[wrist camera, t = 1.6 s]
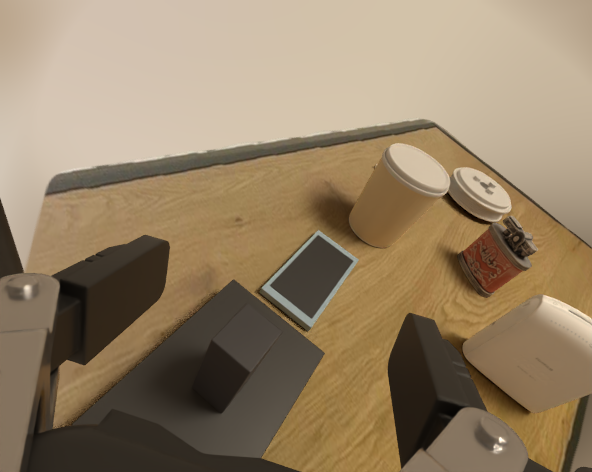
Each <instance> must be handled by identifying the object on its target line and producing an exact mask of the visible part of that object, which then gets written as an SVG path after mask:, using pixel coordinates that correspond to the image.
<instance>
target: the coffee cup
mask: <svg viewBox="0 0 592 472" xmlns="http://www.w3.org/2000/svg"><path fill="white" fill-rule="evenodd" d="M449 185H450V178H449V175H448V173H447V172H446V170H445V169H444V168H443V167H442V166H441V165H440V164H439V163H438V162H437V161H436V160H435V159H434V158H432V157H431V156H430V155H428V154H427V153H425V152H423V151H422V150H420V149H418V148H415V147H413V146H410V145H407V144H402V143H396V144H393V145H391V146H390V147H388V148H386V149H385V150H384V152H383V154H382V158H381V159H380V161H379V163H378V164H377V166H376V168H375V169H374V171H373V173H372V175H371V177H370V178H369V180H368V182H367V184H366V185H365V187H364V189H363V191H362V193H361V195H360V196H359V198H358V200H357V202H356V204H355V205H354V207H353V209H352V211H351V213H350V215H349V224H350V226H351V228H352V230H353V232H354V233H355V234H356V235H357V236H358V237H359V238H360V239H361V240H363V241H364V242H366V243H367V244H369V245H371V246H374V247H378V248H386V247H389V246H391V245H392V244H393V243H394V242H396V241H397V240H398V239H399V238H400V237H401V236H402V235H403V234H404V233H405V232H406V231H407V230H408V229H409V228H410V227H411V226H412V225H413V224H414V223H415V222H416V221H417V220H418V219H419V218H420V217H421V216H422V215H423V214H424V213H425V212H426V211H427V210H428V209H429V208H430V207H431V206H432V205H433V204H434V203H435V202H436V201H437V200H438V199H439V198H440V197H442V196H443V195H445V194H446V193H447V191H448V189H449Z"/></svg>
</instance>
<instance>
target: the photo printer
mask: <svg viewBox="0 0 592 472" xmlns="http://www.w3.org/2000/svg"><path fill="white" fill-rule="evenodd" d="M462 350H463V354H464V356H465V358H466V359H467V360H468V361H469V362H470V363H471V364H472V365H473V366H474V367H476V368H477V369H478V370H479V371H480V372H481V373H483V374H484V375H485V376H486V377H487V378H488V379H490V380H491V381H492V382H493V383H494V384H496V385H497V386H498V387H499V388H501V389H502V390H503V391H504V392H505V393H507V394H508V395H509V396H511V397H512V398H513V399H514V400H516V401H517V402H518V403H519V404H521V405H522V406H523V407H525V408H526V409H527V410H529V411H530V412H532V413H539V412H542V411H545V410H548V409H551V408H554V407H556V406H559V405H562V404H564V403H567V402H570V401H573V400H575V399H578V398H581V397H583V396H586V395H589V394H591V393H592V319H591V318H589V317H588V316H587V315H585V314H583V313H582V312H580V311H578V310H577V309H575V308H573V307H571V306H569V305H567V304H565V303H563V302H561V301H559V300H556V299H554V298H551V297H549V296H546V295H542V294H538V295H535V296H533V297H531V298H529V299H528V300H526V301H525V302H523V303H522V304H520V305H519V306H517V307H516V308H514V309H513V310H511V311H510V312H508V313H507V314H505V315H504V316H502V317H501V318H499V319H498V320H496V321H495V322H493V323H492V324H490V325H489V326H487V327H486V328H484V329H483V330H481V331H479V332H478V333H476V334H475V335H473V336H472V337H471V338H469V339H468V340H466V341H465V342H464V343H463V347H462Z"/></svg>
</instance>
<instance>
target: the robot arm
mask: <svg viewBox="0 0 592 472" xmlns="http://www.w3.org/2000/svg"><path fill="white" fill-rule="evenodd" d="M169 250H170V246H169V243H168V241H165V240H162V239H158V238H155V237H151V236H148V235H143V236H141V237H139V238H137V239H135V240H134V241H132V242H130V243H128V244H123V245H118V246H113V247H109V248H107V249H105V250H103V251H101V252H98V253H96V255H92V256H90V257H88V258H86V259H85V261H84V260H82V261H80V262H78V263H76V264H74V265H72V266H70V267H68V268H66V269H64V270H62V271H60V272H58V273H56V274H54V275H52V276H48V275H44V274H37V273H22V274H15V275H9V276H6V277H2V278H0V472H300V471H297V470H294V469H291V468H288V467H285V466H282V465H279V464H276V463H273V462H270V461H267V460H264V459H261V458H253V457H239V456H225V455H212V454H205V453H202V452H200V451H198V450H196V449H195V448H193V447H192V446H191V445H189V444H188V443H186V442H185V441H183V440H182V439H180V438H179V437H177V436H176V435H174V434H173V433H171V432H170V431H168V430H167V429H165V428H164V427H162V426H161V425H159V424H157V423H154V422H151V421H148V420H145V419H142V418H139V417H136V416H133V415H130V414H127V413H124V412H121V411H118V410H115V409H111V411H110V412H109V413H108V414H107V415H106V416H105V418H104V419H103V420H102V421H101V422H100V423H99V425H97V424H87V425H73V426H65V427H60V428H56V429H52V428H53V420H54V412H55V405H56V397H57V389H58V382H59V366H60V365H61V364H62V363H63V362H64V361H66V360H70V361H73V362H76V363H79V364H82V365H86V364H87V363H88V362H89V361H90V360H92V359H93V358H94V357H95V356H96V355H97V354H98V353H99V352H101V351H102V350H103V349H104V348H105V347H106V346H107V345H108V344H110V343H111V342H112V341H113V340H114V339H115V338H116V337H117V336H118V335H120V334H121V333H122V332H123V331H124V330H125V329H126V328H127V327H129V326H130V325H131V324H132V323H133V322H134V321H135V320H136V319H138V318H139V317H140V316H141V315H142V314H143V313H144V312H145V311H147V310H148V309H149V308H150V307H151V306H152V305H153V304H154V303H156V302H157V301H158V299H159V298H160V296H161V295H162V293H163V290H164V287H165V283H166V275H167V267H168V259H169ZM388 378H389V385H390V392H391V399H392V406H393V413H394V420H395V427H396V434H397V441H398V448H399V455H400V462H401V471H400V472H552V471H551V470H549V469H547V468H545V467H543V466H541V465H540V464H538V463H536V462H534V461H533V460H531V459H529V458H528V452H527V449H526V447H525V445H524V443H523V442H522V440H521V439H520V437H519V436H518V435H517V434H516V433H515V432H514V431H513V429H512V428H510V427H509V426H508V425H507V424H506V423H505V422H503V421H502V420H501V419H499V418H497V417H496V416H494V415H492V414H491V413H489V412H487V409H486V407H485V405H484V403H483V401H482V399H481V397H480V395H479V392H478V390H477V388H476V386H475V384H474V382H473V380H472V379H471V376H470V373H469V371H468V369H467V368H466V365H465V363H464V361H463V359H462V356H461V354H460V353H459V352H458V351H457V349H456V348H455V347H454V346H453V345H452V344H451V343H450V342H449V341H448V340H445V339H442V337H441V334H440V332H439V330H438V327H437V325H436V323H435V321H434V320H433V319H429V318H426V317H422V316H419V315H416V314H412V313H409V314H407V316H406V317H405V320H404V322H403V324H402V327H401V329H400V332H399V334H398V337H397V339H396V342H395V344H394V346H393V349H392V351H391V354H390V358H389V362H388ZM575 472H592V468H588V467H580V468H578V469H577V470H576V471H575Z"/></svg>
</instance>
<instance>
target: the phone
mask: <svg viewBox="0 0 592 472" xmlns="http://www.w3.org/2000/svg"><path fill="white" fill-rule="evenodd" d="M357 262H358V259H357V258H356V257H354V256H353V255H352V254H350V253H349V252H347V251H346V250H345V249H343V248H342V247H341V246H339V245H338V244H337V243H335V242H334V241H333V240H331V239H330V238H329V237H327V236H326V235H325V234H323V233H322V232H320V231H319V230H318V231H317V232H316V233H315V234H314V235H313V236H312V237H311V238H310V239H309V240H308V241H307V242H306V243H305V244H304V245H303V246H302V247H301V248H300V249H299V250H298V251H297V252H296V253H295V254H294V255H293V256H292V257H291V258H290V259H289V260H288V261H287V263H286V264H285V265H284V266H283V267H282V268H281V269H280V270H279V271H278V272H277V273H276V274H275V275H274V276H273V277H272V278H271V279H270V280H269V281H268V282H267V283H266V284H265V285H264V286H263V287H262V288H261V290H260V292H259V293H260V294H262V295H263V296H264V297H265V298H267V299H268V300H269V301H270V302H272V303H273V304H274V305H275V306H277V307H278V308H279V309H280V310H282V311H283V312H284V313H285V314H287V315H288V316H289V317H290V318H292V319H293V320H294V321H295V322H297V323H298V324H299V325H300V326H302V327H303V328H304V329H305V330H307V331H309V330H310V329H311V327H312V326H313V324H314V323H315V322H316V320H317V319H318V317H319V316H320V315H321V313H322V312H323V310H324V309H325V307H326V306H327V305H328V303H329V302H330V300H331V299H332V297H333V296H334V295H335V293H336V292H337V290H338V289H339V287H340V286H341V285H342V283H343V282H344V280H345V279H346V277H347V276H348V275H349V273H350V272H351V270H352V269H353V267H354V266H355V265H356V263H357Z"/></svg>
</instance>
